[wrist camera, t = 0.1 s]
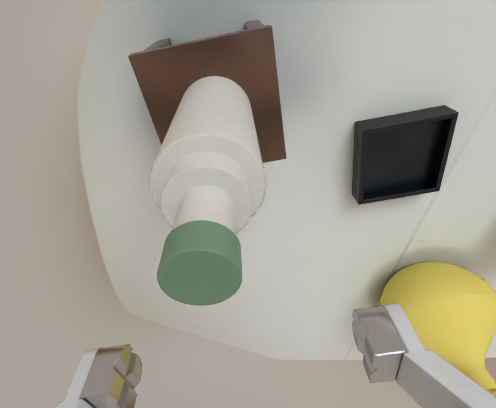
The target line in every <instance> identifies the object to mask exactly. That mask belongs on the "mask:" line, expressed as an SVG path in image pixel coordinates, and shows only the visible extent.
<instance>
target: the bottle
mask: <svg viewBox="0 0 496 408" xmlns="http://www.w3.org/2000/svg"><path fill="white" fill-rule="evenodd" d="M150 188H151V193H152V196H153V199H154V201H155V202H156V204H157V206H158V207H159V209H160V210H161V211H162V213H163V216H164V218H165V219H166V221H167V222H168V224H169V225H170V226H171V227H172V228H173V230H172V231H171V232H170V234H169V235H168V236H167V238H166V241H165V244H164V248H163V252H162V256H161V260H160V264H159V268H158V272H157V279H158V283H159V285H160V287H161V289H162V290H163V291H164V292H165V293H166V294H167V295H168V296H170V297H171V298H173V299H175V300H177V301H179V302H182V303H185V304H190V305H211V304H216V303H219V302H222V301H224V300H226V299H228V298H230V297H231V296H232V295H234V294H235V293H236V291H237V290H238V289H239V287H240V285H241V282H242V263H241V246H240V242H239V240H238V238H237V236H236V235H235V234H236V233H237V232H238V231H240V230H241V229H242V228H243V227H244V226H245V225H246V223H247V222H248V220H249V219H250V218H251V217H252V216H253V215H254V214H255V213H256V212H257V211H258V209H259V208H260V206H261V204H262V202H263V199H264V197H265V192H266V178H265V173H264V168H263V163H262V158H261V153H260V149H259V144H258V139H257V134H256V129H255V124H254V119H253V114H252V109H251V105H250V101H249V99H248V97H247V95H246V93H245V92H244V90H243V89H242V88H241V87H240V86H239V85H238V84H237V83H235V82H234V81H232V80H230V79H228V78H224V77H220V76H209V77H204V78H201V79H199V80H197V81H196V82H194V83H193V84H192V85H190V86H189V88H188V89H187V90H186V92H185V93H184V95H183V97H182V100H181V102H180V104H179V107H178V109H177V111H176V113H175V116H174V118H173V120H172V123H171V125H170V127H169V129H168V132H167V134H166V136H165V139H164V141H163V143H162V146H161V148H160V150H159V152H158V155H157V157H156V159H155V162H154V164H153V166H152V169H151V173H150Z"/></svg>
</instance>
